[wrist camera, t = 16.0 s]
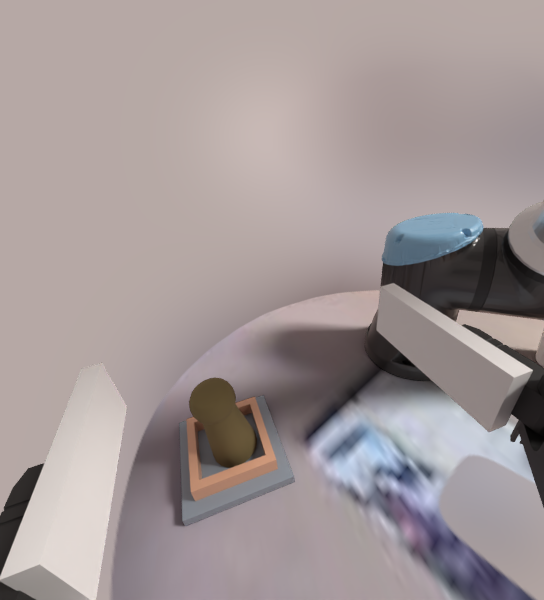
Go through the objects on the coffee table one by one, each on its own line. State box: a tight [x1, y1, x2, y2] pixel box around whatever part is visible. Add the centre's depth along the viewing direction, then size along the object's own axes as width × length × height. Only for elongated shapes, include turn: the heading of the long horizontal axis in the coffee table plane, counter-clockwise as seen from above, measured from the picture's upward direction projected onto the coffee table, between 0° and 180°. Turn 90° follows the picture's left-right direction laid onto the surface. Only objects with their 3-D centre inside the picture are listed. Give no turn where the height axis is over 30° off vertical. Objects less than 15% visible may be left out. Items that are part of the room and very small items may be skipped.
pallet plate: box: [179, 395, 295, 526], centre depth 37 cm, size 13×13×3 cm
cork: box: [189, 378, 257, 468], centre depth 34 cm, size 6×6×11 cm
